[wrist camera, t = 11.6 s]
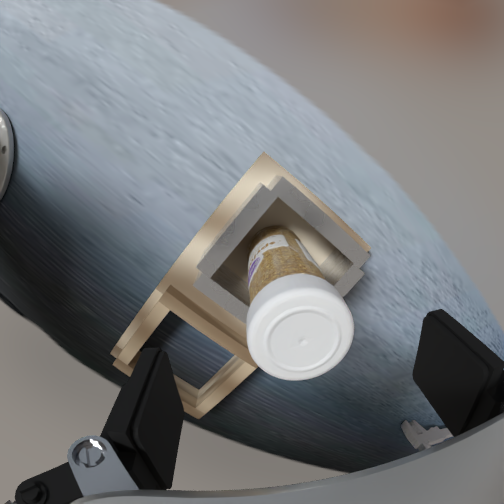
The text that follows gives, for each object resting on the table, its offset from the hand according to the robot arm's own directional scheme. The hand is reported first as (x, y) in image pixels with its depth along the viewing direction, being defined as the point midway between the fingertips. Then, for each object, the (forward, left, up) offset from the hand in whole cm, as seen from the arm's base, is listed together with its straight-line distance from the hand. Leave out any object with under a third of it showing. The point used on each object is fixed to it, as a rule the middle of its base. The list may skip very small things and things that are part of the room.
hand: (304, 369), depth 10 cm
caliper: (+28, -29, -17) cm, 44 cm away
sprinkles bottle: (0, 0, -16) cm, 16 cm away
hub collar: (+1, 0, -15) cm, 15 cm away
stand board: (-4, -5, -17) cm, 18 cm away
